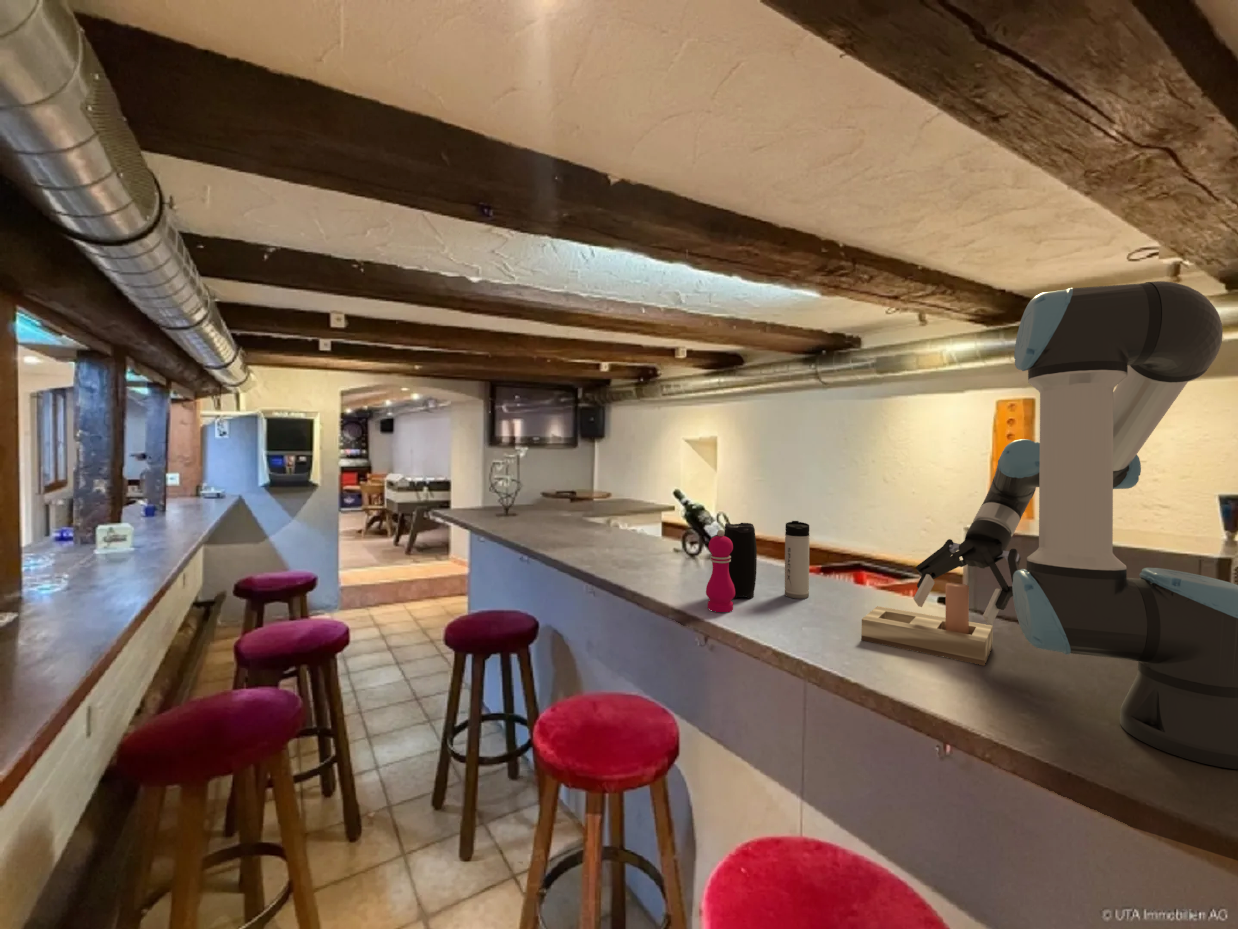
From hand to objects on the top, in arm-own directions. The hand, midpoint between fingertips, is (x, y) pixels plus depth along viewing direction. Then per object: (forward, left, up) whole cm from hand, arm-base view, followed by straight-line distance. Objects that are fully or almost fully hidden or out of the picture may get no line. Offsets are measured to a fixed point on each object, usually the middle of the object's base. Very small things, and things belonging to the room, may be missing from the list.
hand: (950, 611), depth 113 cm
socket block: (+2, +5, -8) cm, 10 cm away
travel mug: (+21, +40, -8) cm, 46 cm away
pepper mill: (-3, +50, -8) cm, 50 cm away
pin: (+2, -1, -7) cm, 8 cm away
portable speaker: (+11, +52, -8) cm, 54 cm away
